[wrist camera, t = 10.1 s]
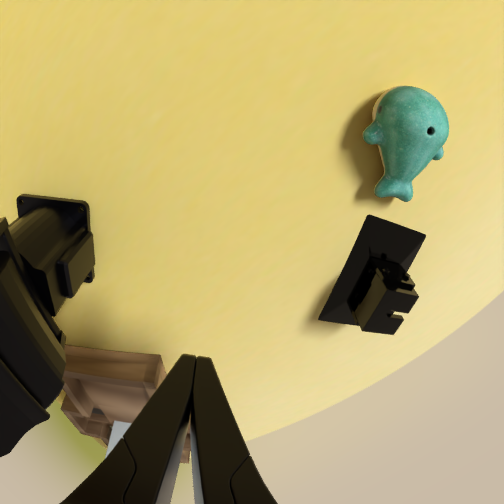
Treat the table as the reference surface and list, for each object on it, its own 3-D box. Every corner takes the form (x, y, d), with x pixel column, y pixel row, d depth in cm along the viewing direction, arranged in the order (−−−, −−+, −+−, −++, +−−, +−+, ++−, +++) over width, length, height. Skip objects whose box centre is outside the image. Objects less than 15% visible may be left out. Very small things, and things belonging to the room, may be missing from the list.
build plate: (369, 336, 26) (384, 374, 22) (297, 326, 25) (306, 369, 21) (437, 218, 20) (470, 247, 16) (360, 188, 19) (389, 216, 15)
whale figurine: (441, 101, 15) (476, 108, 12) (417, 200, 19) (445, 223, 16) (365, 74, 15) (393, 73, 12) (343, 185, 19) (364, 208, 15)
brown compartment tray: (39, 340, 25) (27, 362, 22) (192, 356, 26) (188, 385, 23) (100, 431, 35) (95, 448, 32) (212, 445, 36) (211, 464, 33)
